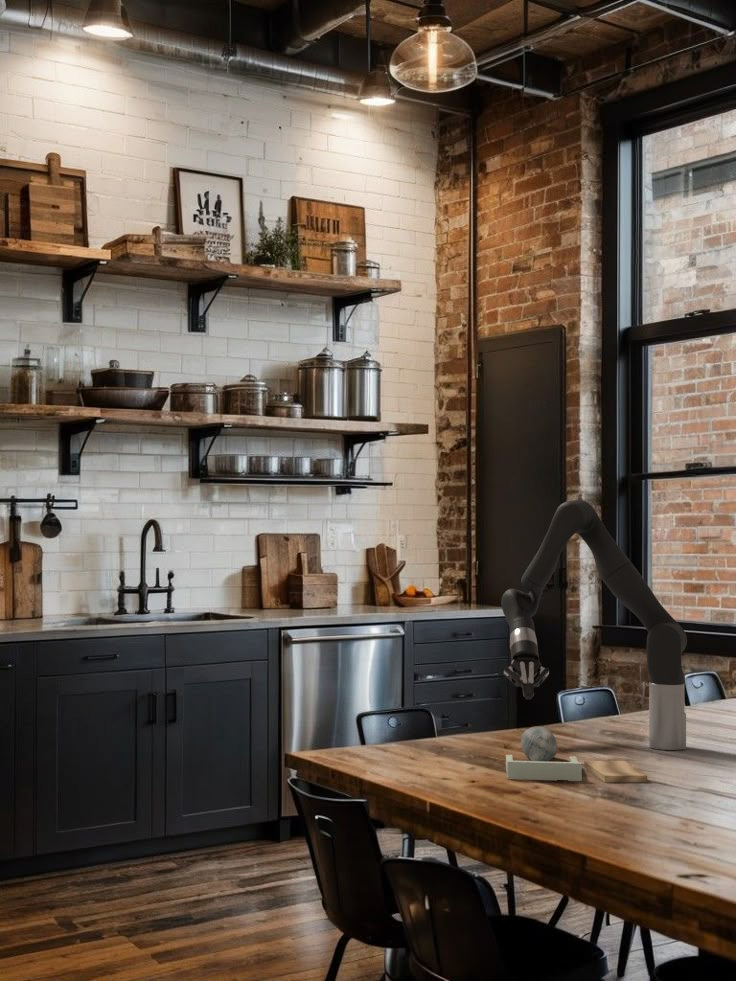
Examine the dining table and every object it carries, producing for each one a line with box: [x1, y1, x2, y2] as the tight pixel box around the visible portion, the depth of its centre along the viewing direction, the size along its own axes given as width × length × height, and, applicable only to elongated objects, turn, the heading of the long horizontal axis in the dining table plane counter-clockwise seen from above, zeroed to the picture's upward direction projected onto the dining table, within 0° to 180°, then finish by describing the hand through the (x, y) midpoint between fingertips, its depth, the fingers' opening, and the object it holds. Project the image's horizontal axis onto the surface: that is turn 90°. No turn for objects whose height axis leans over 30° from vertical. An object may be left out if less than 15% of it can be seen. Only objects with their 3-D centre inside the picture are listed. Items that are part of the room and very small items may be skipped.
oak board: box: [583, 760, 648, 783], centre depth 286 cm, size 10×18×2 cm, turn 5°
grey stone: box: [520, 726, 558, 762], centre depth 304 cm, size 14×10×10 cm
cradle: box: [505, 754, 583, 782], centre depth 288 cm, size 17×18×4 cm
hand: (529, 697), depth 325 cm, fingers closed
